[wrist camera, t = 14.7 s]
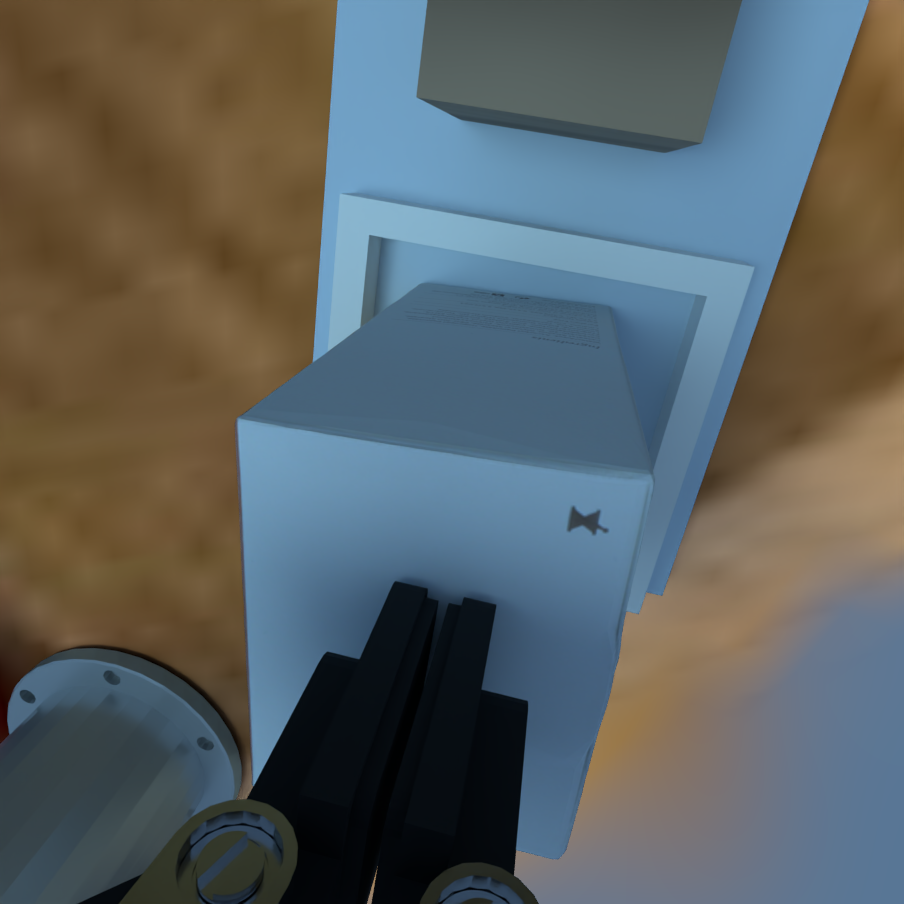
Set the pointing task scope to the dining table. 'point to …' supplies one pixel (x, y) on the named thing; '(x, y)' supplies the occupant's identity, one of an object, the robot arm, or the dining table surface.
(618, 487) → the small box
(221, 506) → the dining table surface
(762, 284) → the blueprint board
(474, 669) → the robot arm
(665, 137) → the dark gray block
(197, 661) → the dining table surface
